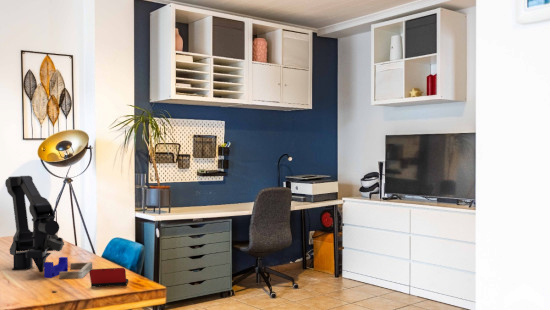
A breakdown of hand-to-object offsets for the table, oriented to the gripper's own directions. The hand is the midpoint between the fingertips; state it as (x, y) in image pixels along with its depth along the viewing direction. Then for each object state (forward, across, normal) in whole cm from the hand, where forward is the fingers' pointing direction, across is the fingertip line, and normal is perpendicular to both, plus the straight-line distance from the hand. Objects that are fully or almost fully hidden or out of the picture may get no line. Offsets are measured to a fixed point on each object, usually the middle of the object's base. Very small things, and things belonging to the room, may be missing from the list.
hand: (41, 271), depth 222 cm
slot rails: (+1, 0, -13) cm, 13 cm away
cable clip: (+2, 0, -5) cm, 5 cm away
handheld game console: (+2, -22, -30) cm, 38 cm away
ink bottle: (+1, +61, +14) cm, 63 cm away
